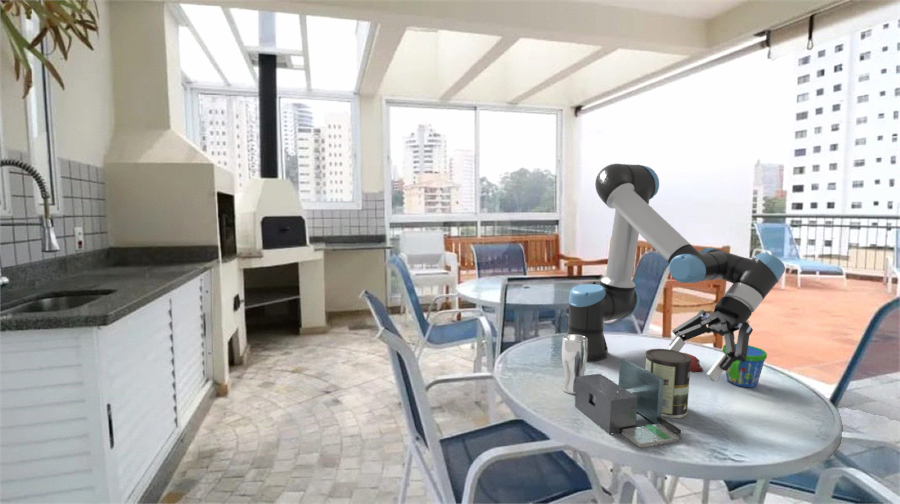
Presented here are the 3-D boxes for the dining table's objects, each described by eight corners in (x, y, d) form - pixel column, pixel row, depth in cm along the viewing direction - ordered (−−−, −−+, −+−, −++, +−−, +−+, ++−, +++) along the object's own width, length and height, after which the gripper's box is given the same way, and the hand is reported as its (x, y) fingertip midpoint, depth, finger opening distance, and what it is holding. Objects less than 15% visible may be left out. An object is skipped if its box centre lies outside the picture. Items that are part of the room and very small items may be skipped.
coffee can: (680, 401, 115) (683, 349, 114) (693, 420, 105) (697, 364, 104) (638, 397, 117) (641, 346, 116) (647, 416, 107) (651, 360, 106)
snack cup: (750, 396, 119) (753, 360, 117) (709, 383, 127) (711, 349, 126) (773, 383, 127) (777, 349, 126) (734, 371, 136) (736, 339, 135)
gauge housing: (575, 406, 112) (576, 376, 111) (620, 400, 116) (621, 371, 115) (628, 450, 92) (630, 414, 91) (680, 440, 96) (683, 406, 95)
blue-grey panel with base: (577, 404, 112) (579, 362, 111) (621, 398, 116) (623, 358, 115) (630, 446, 93) (633, 397, 92) (681, 437, 97) (684, 390, 95)
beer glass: (555, 386, 124) (556, 335, 122) (574, 383, 126) (576, 332, 125) (571, 397, 117) (573, 342, 116) (591, 392, 120) (593, 339, 118)
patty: (704, 376, 133) (705, 370, 133) (654, 369, 139) (655, 363, 138) (697, 357, 149) (697, 351, 149) (652, 351, 155) (652, 346, 154)
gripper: (794, 327, 102) (740, 397, 99) (704, 303, 126) (658, 359, 123) (779, 306, 100) (723, 377, 97) (690, 286, 123) (643, 343, 121)
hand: (687, 367), depth 110 cm, fingers open, 13 cm apart
